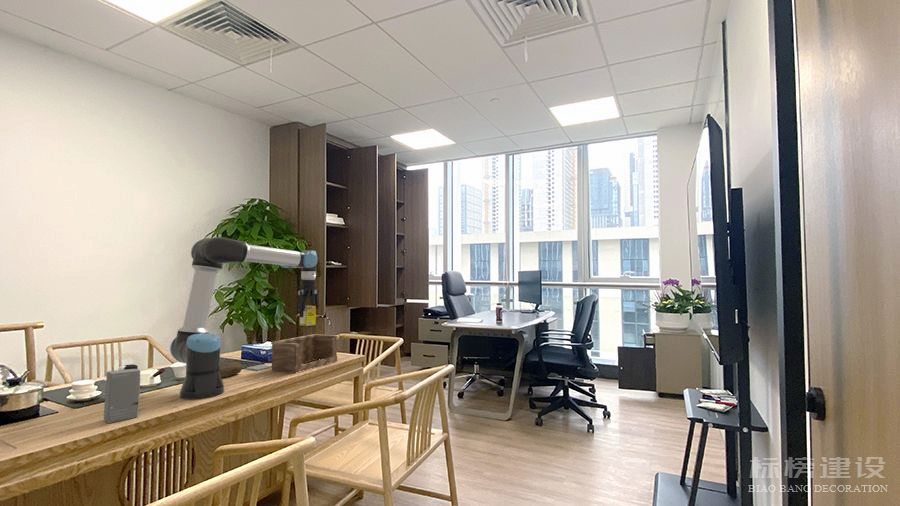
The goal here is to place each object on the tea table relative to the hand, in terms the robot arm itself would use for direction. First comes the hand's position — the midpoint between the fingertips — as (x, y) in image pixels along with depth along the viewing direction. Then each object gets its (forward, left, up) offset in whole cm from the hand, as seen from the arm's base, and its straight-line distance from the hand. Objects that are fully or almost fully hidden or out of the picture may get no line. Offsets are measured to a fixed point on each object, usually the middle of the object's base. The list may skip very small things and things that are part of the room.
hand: (307, 322), depth 218 cm
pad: (-21, +9, -22) cm, 32 cm away
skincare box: (-78, -38, -23) cm, 90 cm away
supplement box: (0, 0, -2) cm, 2 cm away
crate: (-1, 0, -22) cm, 22 cm away
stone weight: (-39, +1, -23) cm, 45 cm away
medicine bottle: (-75, -7, -23) cm, 79 cm away
